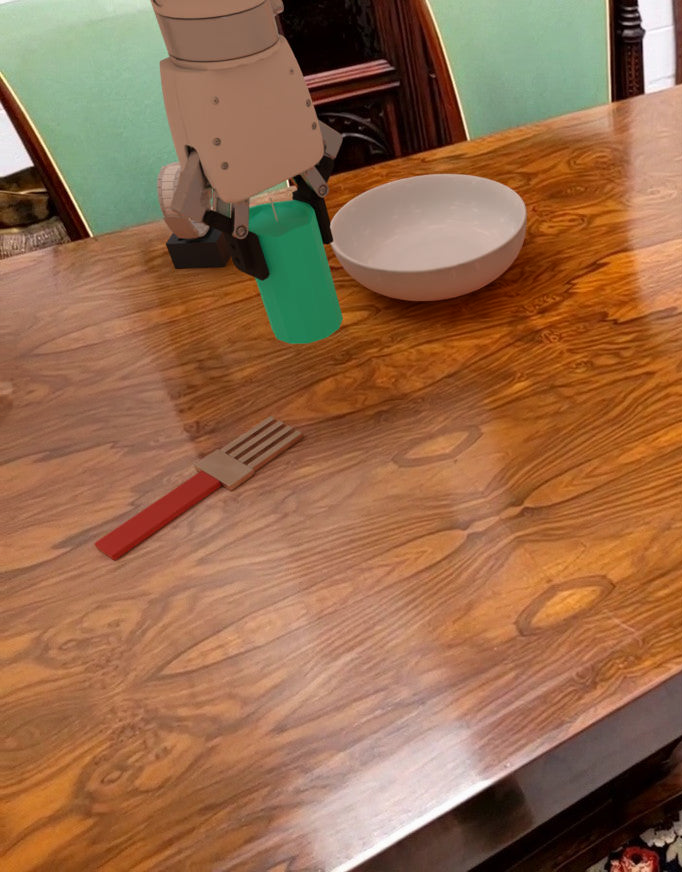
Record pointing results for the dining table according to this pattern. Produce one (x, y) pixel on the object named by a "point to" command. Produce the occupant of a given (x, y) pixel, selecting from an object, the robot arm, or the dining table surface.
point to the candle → (295, 272)
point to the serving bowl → (430, 235)
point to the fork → (205, 482)
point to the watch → (189, 228)
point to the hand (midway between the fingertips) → (287, 254)
